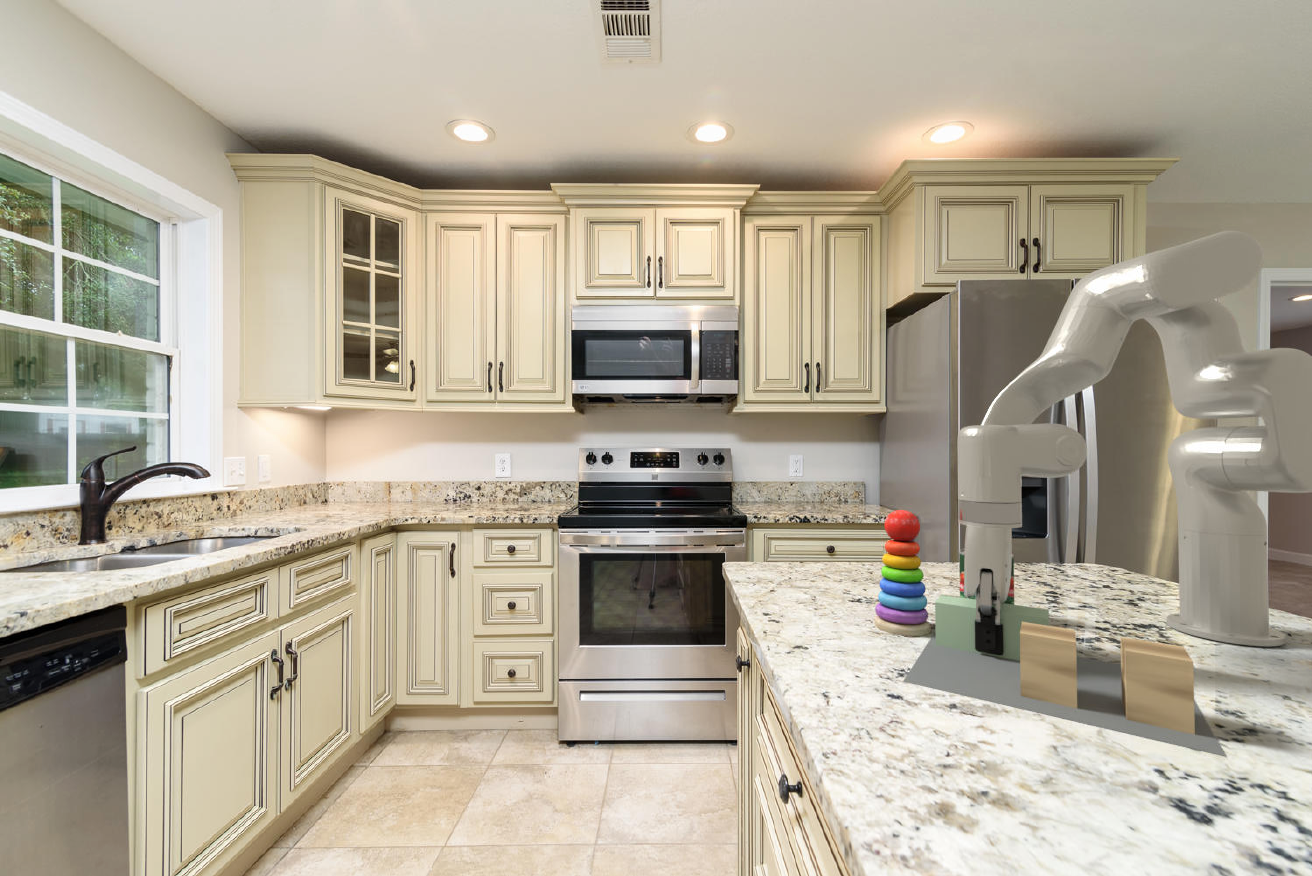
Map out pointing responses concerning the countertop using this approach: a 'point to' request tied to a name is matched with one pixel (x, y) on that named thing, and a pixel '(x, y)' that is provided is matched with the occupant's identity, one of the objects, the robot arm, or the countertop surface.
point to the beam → (959, 624)
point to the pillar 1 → (1048, 664)
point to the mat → (1094, 702)
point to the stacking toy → (902, 580)
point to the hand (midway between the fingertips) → (991, 645)
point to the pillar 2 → (1157, 684)
